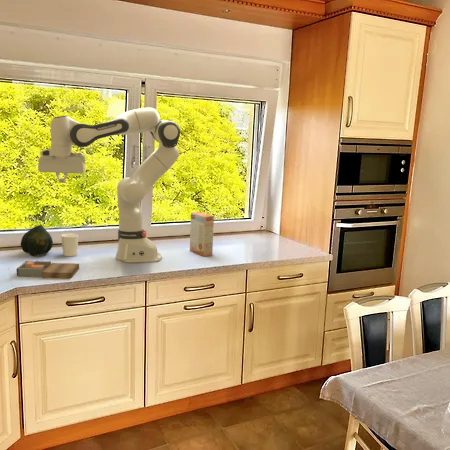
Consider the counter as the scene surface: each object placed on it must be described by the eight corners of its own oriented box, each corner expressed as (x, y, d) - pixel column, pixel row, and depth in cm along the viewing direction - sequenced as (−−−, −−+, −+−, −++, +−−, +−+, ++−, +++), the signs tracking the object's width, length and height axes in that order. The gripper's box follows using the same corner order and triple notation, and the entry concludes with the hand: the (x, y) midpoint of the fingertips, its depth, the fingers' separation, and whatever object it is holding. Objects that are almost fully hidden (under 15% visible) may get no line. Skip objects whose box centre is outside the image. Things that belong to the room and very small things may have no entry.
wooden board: (79, 268, 216) (79, 263, 216) (71, 278, 202) (71, 272, 202) (52, 268, 215) (51, 263, 215) (42, 277, 202) (42, 272, 201)
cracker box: (213, 255, 248) (214, 215, 244) (203, 257, 245) (204, 216, 241) (199, 249, 259) (200, 211, 255) (189, 250, 256) (190, 212, 252)
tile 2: (44, 270, 210) (44, 264, 210) (41, 273, 206) (41, 267, 206) (35, 270, 210) (34, 264, 210) (32, 272, 206) (31, 267, 206)
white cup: (81, 254, 241) (81, 234, 239) (70, 257, 234) (70, 237, 232) (69, 251, 244) (69, 232, 242) (58, 255, 237) (57, 235, 235)
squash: (15, 248, 226) (36, 223, 228) (15, 242, 240) (35, 219, 242) (40, 265, 232) (61, 241, 234) (38, 259, 245) (58, 236, 248)
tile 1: (34, 261, 209) (28, 261, 209) (31, 264, 205) (25, 263, 205) (34, 270, 210) (28, 270, 210) (31, 273, 206) (25, 272, 206)
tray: (51, 269, 214) (51, 261, 214) (43, 277, 203) (42, 269, 202) (26, 268, 213) (26, 260, 213) (16, 276, 202) (16, 268, 201)
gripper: (86, 152, 222) (86, 182, 225) (40, 151, 221) (41, 181, 223) (83, 153, 216) (83, 184, 218) (36, 151, 214) (37, 182, 217)
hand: (62, 182), depth 221 cm, fingers closed
